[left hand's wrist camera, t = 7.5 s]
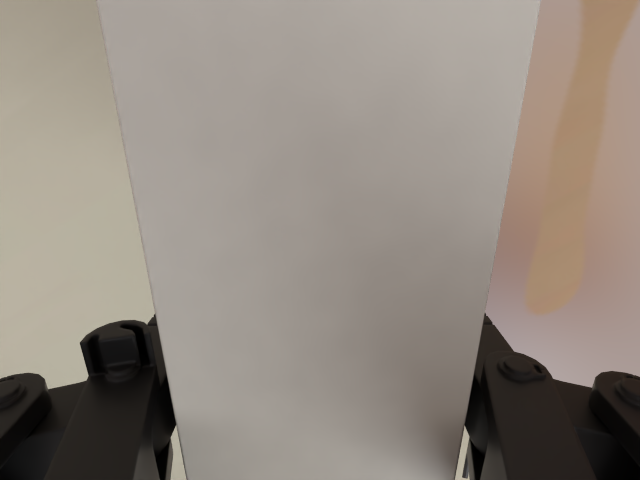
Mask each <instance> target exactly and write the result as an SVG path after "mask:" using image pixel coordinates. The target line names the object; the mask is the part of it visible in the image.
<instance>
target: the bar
mask: <svg viewBox="0 0 640 480" xmlns="http://www.w3.org/2000/svg"><path fill="white" fill-rule="evenodd" d="M96 2H97V7H98V12H99V18H100V23H101V28H102V34H103V39H104V44H105V49H106V55H107V60H108V65H109V71H110V76H111V81H112V87H113V92H114V97H115V102H116V108H117V113H118V118H119V124H120V129H121V134H122V139H123V145H124V150H125V155H126V161H127V166H128V171H129V177H130V182H131V187H132V192H133V198H134V203H135V208H136V214H137V219H138V224H139V229H140V235H141V240H142V245H143V251H144V256H145V261H146V267H147V272H148V277H149V282H150V288H151V293H152V298H153V304H154V309H155V314H156V319H157V325H158V330H159V335H160V341H161V346H162V351H163V357H164V362H165V367H166V372H167V378H168V383H169V388H170V394H171V399H172V404H173V409H174V415H175V420H176V425H177V431H178V436H179V441H180V447H181V452H182V457H183V462H184V468H185V473H186V478H187V480H455V475H456V470H457V464H458V459H459V453H460V447H461V442H462V436H463V431H464V425H465V420H466V414H467V409H468V403H469V397H470V392H471V386H472V381H473V375H474V370H475V364H476V359H477V353H478V347H479V342H480V336H481V331H482V325H483V320H484V314H485V309H486V303H487V297H488V292H489V286H490V281H491V275H492V270H493V264H494V259H495V253H496V247H497V242H498V236H499V231H500V225H501V220H502V214H503V209H504V203H505V197H506V192H507V186H508V181H509V175H510V170H511V164H512V159H513V153H514V148H515V142H516V137H517V131H518V125H519V120H520V114H521V109H522V103H523V98H524V92H525V87H526V81H527V75H528V70H529V64H530V59H531V53H532V47H533V42H534V37H535V31H536V25H537V20H538V14H539V9H540V3H541V0H96Z"/></svg>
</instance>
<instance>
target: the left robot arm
mask: <svg viewBox="0 0 640 480" xmlns="http://www.w3.org/2000/svg"><path fill="white" fill-rule="evenodd" d="M80 345H81V349H82V353H83V356H84V360H85V364H86V367H87V371H88V375H89V376H88V379H87V381H84V382H80V383H76V384H71V385H67V386H62V387H57V388H53V389H48V388H47V385H46V382H45V379H44V378H43V377H41V376H40V375H39V374H33V373H23V374H15V375H11V376H7V377H4V378H1V379H0V480H170V478H171V469H172V460H173V449H172V443H171V435H172V433H173V431H174V428H175V426H176V420H175V415H174V409H173V404H172V399H171V394H170V388H169V383H168V378H167V372H166V367H165V362H164V357H163V351H162V346H161V341H160V335H159V330H158V325H157V319H156V314H155V315H154V317H152V319H151V320H150V321H149V323H148V325H147V324H145V323H144V322H141V321H136V320H123V321H118V322H113V323H109V324H107V325H104V326H102V327H99V328H97V329H95V330H94V331H92V332H91V333H89V334H88V335H86V336H85V337H84V339H83V340H82V341H81V342H80ZM465 427H466V429H467V432H468V434H469V436H470V438H469V443H468V448H467V453H466V459H465V464H464V469H463V476H462V477H463V478H468V473H469V477H470V480H640V377H638V376H636V375H635V376H634V375H632V374H628V373H623V372H615V371H609V372H602V373H600V374H599V375H598V376H597V377H596V378H595V381H594V384H593V387H592V388H590V387H585V386H581V385H576V384H572V383H567V382H562V381H559V380H555V379H553V378H552V376H551V374H550V373H549V372H548V370H547V369H546V367H544V366H543V365H542V364H540V363H539V362H538V361H537V360H535V359H533V358H531V357H529V356H526V355H524V354H521V353H517V352H514V351H513V349H512V348H511V347H510V345H509V344H508V343H507V341H506V340H505V339H504V337H503V336H502V335H501V334H500V332H499V331H498V329H497V328H496V327H495V325H493V324H492V321H491V320H490V319H489V317H488V316H486V313H485V314H484V320H483V325H482V331H481V336H480V342H479V347H478V353H477V359H476V364H475V370H474V375H473V381H472V386H471V392H470V397H469V403H468V409H467V414H466V420H465Z"/></svg>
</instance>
